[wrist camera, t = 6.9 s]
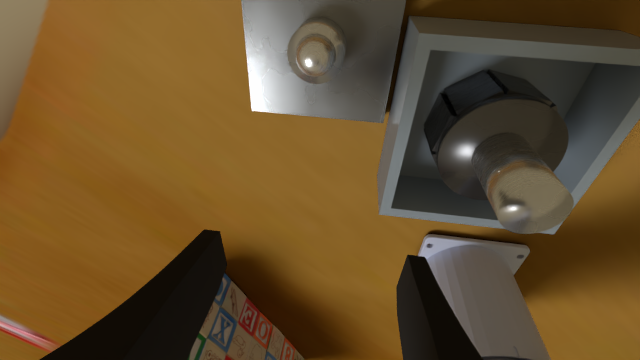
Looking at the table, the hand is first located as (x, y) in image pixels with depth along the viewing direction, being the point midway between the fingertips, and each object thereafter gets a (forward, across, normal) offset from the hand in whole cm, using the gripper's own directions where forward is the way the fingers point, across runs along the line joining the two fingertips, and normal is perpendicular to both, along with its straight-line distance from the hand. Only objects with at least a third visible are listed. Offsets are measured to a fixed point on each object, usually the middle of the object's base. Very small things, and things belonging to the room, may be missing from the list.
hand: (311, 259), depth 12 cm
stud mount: (+10, +1, -5) cm, 12 cm away
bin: (+10, -8, -2) cm, 14 cm away
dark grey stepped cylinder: (+10, -8, -2) cm, 13 cm away
